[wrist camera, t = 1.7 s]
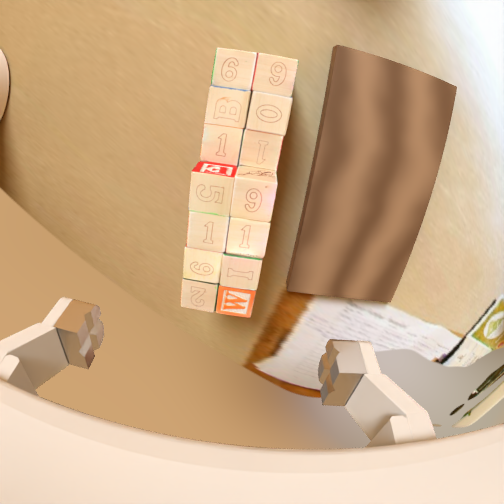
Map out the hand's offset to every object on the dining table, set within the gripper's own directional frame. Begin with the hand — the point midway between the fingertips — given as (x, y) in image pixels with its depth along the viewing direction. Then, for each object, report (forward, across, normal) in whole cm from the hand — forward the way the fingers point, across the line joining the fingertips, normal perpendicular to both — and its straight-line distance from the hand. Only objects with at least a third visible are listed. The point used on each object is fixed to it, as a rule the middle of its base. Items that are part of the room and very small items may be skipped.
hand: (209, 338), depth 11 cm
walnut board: (+26, -14, 0) cm, 29 cm away
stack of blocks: (+26, 0, 0) cm, 26 cm away
